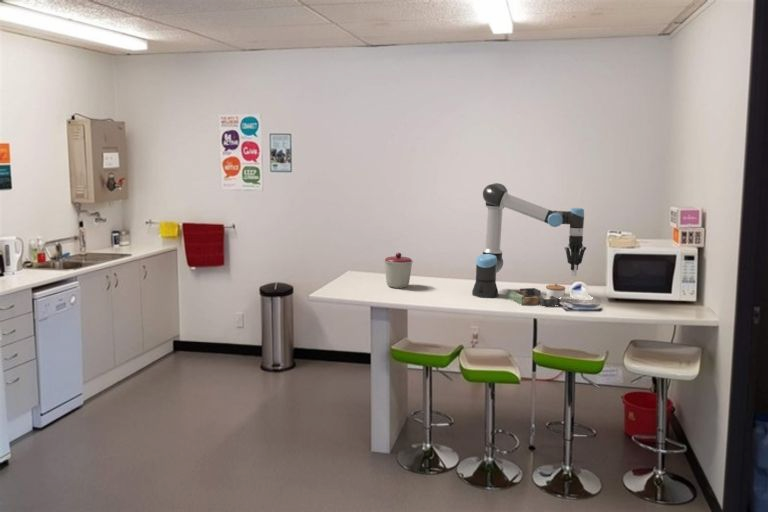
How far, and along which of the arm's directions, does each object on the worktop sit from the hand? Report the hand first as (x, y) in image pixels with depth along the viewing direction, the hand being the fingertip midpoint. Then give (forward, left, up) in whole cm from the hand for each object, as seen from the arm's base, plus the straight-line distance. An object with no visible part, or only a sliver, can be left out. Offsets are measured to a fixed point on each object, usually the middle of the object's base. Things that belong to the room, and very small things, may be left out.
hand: (573, 275), depth 387 cm
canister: (-90, +51, -14) cm, 105 cm away
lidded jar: (-11, 0, -14) cm, 18 cm away
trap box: (-26, 0, -14) cm, 30 cm away
